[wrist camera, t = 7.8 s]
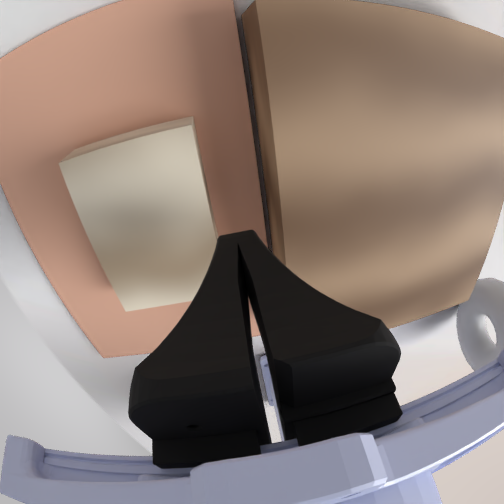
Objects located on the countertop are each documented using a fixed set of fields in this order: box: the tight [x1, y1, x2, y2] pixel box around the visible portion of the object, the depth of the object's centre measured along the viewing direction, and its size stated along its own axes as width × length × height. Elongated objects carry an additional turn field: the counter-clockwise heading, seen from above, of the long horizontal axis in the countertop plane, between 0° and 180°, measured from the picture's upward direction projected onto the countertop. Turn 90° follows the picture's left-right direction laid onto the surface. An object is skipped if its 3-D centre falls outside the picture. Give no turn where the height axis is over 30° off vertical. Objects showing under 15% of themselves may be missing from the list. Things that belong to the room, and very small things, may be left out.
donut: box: [457, 278, 504, 371], centre depth 21 cm, size 10×3×10 cm, turn 12°
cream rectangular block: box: [59, 116, 218, 312], centre depth 14 cm, size 9×6×2 cm, turn 7°
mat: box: [0, 0, 268, 358], centre depth 15 cm, size 22×14×1 cm, turn 8°
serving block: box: [241, 0, 504, 329], centre depth 14 cm, size 18×14×4 cm
